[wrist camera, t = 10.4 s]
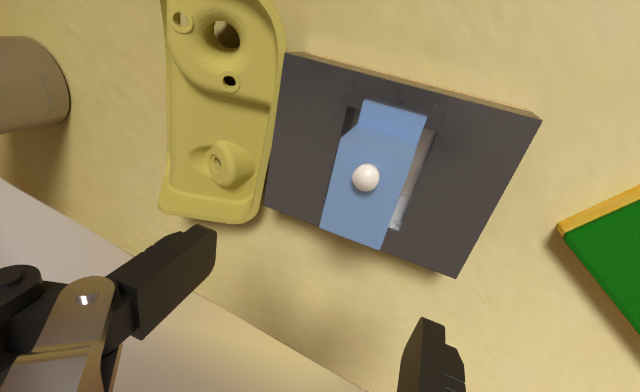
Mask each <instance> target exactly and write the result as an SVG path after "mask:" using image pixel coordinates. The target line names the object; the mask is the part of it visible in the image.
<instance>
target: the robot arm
mask: <svg viewBox="0 0 640 392" xmlns="http://www.w3.org/2000/svg"><path fill="white" fill-rule="evenodd" d="M68 110H69V94H68V89H67V85H66V82H65V80H64V77H63V74H62V72H61V71H60V69H59V67H58V65H57V63H56V62H55V60H54V59H53V57H52V56H51V55H50V54H49V53H48V52H47V50H46V49H45V48H44V47H42V46H41V45H40V44H39V43H38V42H36V41H34V40H32V39H30V38H27V37H19V36H0V134H4V133H10V132H15V131H21V130H26V129H31V128H36V127H41V126H46V125H51V124H56V123H60V122H61V121H63V120H64V119H65V117H66V116H67V113H68ZM216 242H217V233H216V231H214V230H212V229H209V228H207V227H204V226H202V225H200V224H196V225H194V226H192V227H191V228H190V229H188V230H187V231H185V232H184V233H183V232H181V231H179V232H176V233H173V234H170V235H167V236H165V237H163V238H162V239H161V240H159V241H158V242H156V243H155V244H154V245H152V246H150V247H149V248H147V249H146V250H145V251H144V252H141V253H140V254H138V255H137V256H135V257H134V258H132V259H131V260H129V261H128V262H127V263H125V264H123V265H122V266H121V267H119V268H118V269H116V270H115V271H113V272H112V273H110V274H109V275H107V276H105V277H101V276H90V277H85V278H81V279H79V280H76V281H74V282H72V283H70V284H64V283H56V282H49V281H42V278H41V274H40V271H39V270H38V269H37V268H36V267H34V266H30V265H13V266H9V267H4V268H1V269H0V392H112V391H113V387H114V382H115V378H116V373H117V369H118V364H119V359H120V355H121V350H122V342H123V341H124V340H125V339H126V338H127V337H129V336H130V335H131V336H133V337H135V338H137V339H139V340H141V341H142V340H143V339H144V338H145V337H146V336H147V335H148V334H149V333H150V332H151V331H152V330H153V329H154V328H155V327H156V326H157V325H158V324H159V323H160V322H161V321H162V320H163V319H164V318H165V317H166V316H167V315H169V314H170V313H171V312H172V311H173V310H174V309H175V308H176V307H177V305H179V304H180V303H181V302H182V301H183V300H184V299H185V298H186V297H187V296H188V295H189V294H190V293H191V292H192V291H193V290H194V289H195V288H196V287H197V286H198V285H199V284H200V283H202V282H203V281H204V280H205V279H206V278H207V277H208V276H209V274H210V273H211V271H212V269H213V267H214V264H215V258H216ZM464 383H465V373H464V364H463V362H462V360H461V358H460V356H459V353H458V351H457V349H456V348H454V347H451V346H449V345H447V344H445V327H444V326H443V325H441V324H438V323H436V322H434V321H431V320H429V319H426V318H424V317H421V318H420V319H419V321H418V323H417V325H416V327H415V329H414V331H413V333H412V335H411V337H410V338H409V340H408V342H407V344H406V346H405V349H404V352H403V355H402V359H401V364H400V372H399V380H398V387H397V392H466V387H465V384H464Z"/></svg>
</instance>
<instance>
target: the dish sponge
mask: <svg viewBox="0 0 640 392" xmlns="http://www.w3.org/2000/svg"><path fill="white" fill-rule="evenodd" d="M557 230H558V231H559V233H560V235H561V236H562V237H563V239H564V241H565V242H566V243H567V245H568V246H569V247H570V248H571V250H572V251H573V252H574V253H575V255H576V256H577V257H578V258H579V260H580V261H581V262H582V263H583V265H584V266H585V267H586V268H587V270H588V271H589V272H590V273H591V275H592V276H593V277H594V278H595V280H596V281H597V282H598V283H599V285H600V286H601V287H602V288H603V290H604V291H605V292H606V293H607V295H608V296H609V297H610V298H611V300H612V301H613V302H614V303H615V305H616V306H617V307H618V308H619V310H620V311H621V312H622V313H623V315H624V316H625V317H626V318H627V320H628V321H629V322H630V323H631V325H632V326H633V327H634V328H635V330H636V331H637V332H638V333H639V335H640V185H638V186H636V187H634V188H632V189H629V190H627V191H625V192H623V193H621V194H619V195H616V196H614V197H612V198H610V199H608V200H606V201H603V202H601V203H599V204H597V205H595V206H593V207H590V208H588V209H586V210H584V211H582V212H580V213H578V214H575V215H573V216H571V217H569V218H567V219H565V220H562V221H560V222H558V225H557Z"/></svg>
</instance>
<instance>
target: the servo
mask: <svg viewBox="0 0 640 392" xmlns="http://www.w3.org/2000/svg"><path fill="white" fill-rule="evenodd" d="M426 119H427V116H423V115H420V114H416V113H413V112H409V111H405V110H402V109H398V108H395V107H391V106H387V105H384V104H380V103H376V102H373V101H369V100H364V101H363V105H362V109H361V112H360V116H359V120H358V124H357V125H356V126H354V127H353V128H352V129H351V130H350V131H348V132H347V133H346V134H345V135H344V136H343V137H341V138H340V142H339V146H338V151H337V155H336V159H335V163H334V167H333V171H332V176H331V180H330V184H329V188H328V192H327V196H326V201H325V205H324V209H323V213H322V217H321V221H320V226H319V228H321V229H324V230H326V231H329V232H332V233H334V234H337V235H339V236H342V237H345V238H347V239H350V240H353V241H355V242H358V243H361V244H363V245H366V246H368V247H371V248H374V249H376V250H379V251H380V248H381V246H382V243H383V240H384V237H385V235H386V232H387V229H388V226H389V224H390V221H391V218H392V216H393V213H394V210H395V207H396V205H397V202H398V199H399V196H400V194H401V191H402V188H403V186H404V183H405V180H406V177H407V175H408V172H409V169H410V166H411V164H412V161H413V158H414V154H415V151H416V148H417V144H418V141H419V139H420V136H421V133H422V130H423V128H424V125H425V122H426Z"/></svg>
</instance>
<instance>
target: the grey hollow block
mask: <svg viewBox="0 0 640 392" xmlns="http://www.w3.org/2000/svg"><path fill="white" fill-rule="evenodd" d="M364 100H369V101H373V102H376V103H380V104H384V105H387V106H391V107H395V108H398V109H402V110H405V111H409V112H413V113H416V114H420V115H423V116H427V119H426V122H425V125H424V128H423V130H422V133H421V136H420V139H419V141H418V144H417V148H416V151H415V154H414V158H413V161H412V164H411V166H410V169H409V172H408V175H407V177H406V180H405V183H404V186H403V188H402V191H401V194H400V196H399V199H398V202H397V205H396V207H395V210H394V213H393V216H392V218H391V221H390V224H389V226H388V229H387V232H386V235H385V237H384V240H383V243H382V246H381V248H380V250H381V251H384V252H386V253H389V254H391V255H394V256H397V257H399V258H402V259H404V260H407V261H410V262H412V263H415V264H417V265H420V266H423V267H425V268H428V269H431V270H433V271H436V272H438V273H441V274H444V275H446V276H449V277H451V278H454V279H456V278H457V276H458V275H459V273H460V271H461V269H462V267H463V265H464V264H465V262H466V260H467V258H468V256H469V255H470V253H471V251H472V249H473V247H474V245H475V244H476V242H477V240H478V238H479V236H480V234H481V233H482V231H483V229H484V227H485V225H486V224H487V222H488V220H489V218H490V216H491V214H492V213H493V211H494V209H495V207H496V205H497V203H498V202H499V200H500V198H501V196H502V194H503V193H504V191H505V189H506V187H507V185H508V183H509V182H510V180H511V178H512V176H513V174H514V172H515V171H516V169H517V167H518V165H519V163H520V162H521V160H522V158H523V156H524V154H525V152H526V151H527V149H528V147H529V145H530V143H531V141H532V140H533V138H534V136H535V134H536V132H537V130H538V129H539V127H540V125H541V123H542V121H543V120H542V119H540V118H539V117H537V116H536V115H535V114H533V113H532V112H531V111H529V110H528V109H526V108H522V107H518V106H514V105H510V104H506V103H502V102H498V101H495V100H491V99H487V98H483V97H479V96H475V95H471V94H468V93H464V92H460V91H456V90H452V89H448V88H444V87H441V86H437V85H433V84H429V83H425V82H421V81H417V80H413V79H410V78H406V77H402V76H398V75H394V74H390V73H386V72H383V71H379V70H375V69H371V68H367V67H363V66H359V65H356V64H352V63H348V62H344V61H340V60H336V59H332V58H328V57H325V56H321V55H317V54H313V53H309V52H285V53H284V60H283V67H282V74H281V82H280V89H279V96H278V104H277V111H276V118H275V125H274V133H273V140H272V147H271V155H270V162H269V169H268V176H267V184H266V191H265V198H264V206H266V207H269V208H271V209H274V210H276V211H279V212H282V213H284V214H287V215H289V216H292V217H295V218H297V219H300V220H303V221H305V222H308V223H310V224H313V225H316V226H318V227H319V226H320V221H321V217H322V213H323V209H324V205H325V201H326V196H327V192H328V188H329V184H330V180H331V176H332V171H333V167H334V163H335V159H336V155H337V151H338V146H339V142H340V138H341V137H343V136H344V135H345V134H346V133H347V132H348V131H350V130H351V129H352V128H353V127H354V126H356V125H357V124H358V120H359V116H360V112H361V109H362V105H363V101H364Z"/></svg>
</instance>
